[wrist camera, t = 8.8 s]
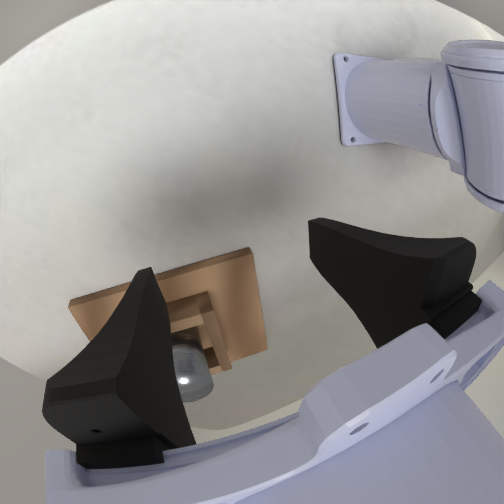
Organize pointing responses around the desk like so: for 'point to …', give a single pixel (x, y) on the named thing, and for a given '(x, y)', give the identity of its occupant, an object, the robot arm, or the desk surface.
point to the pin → (191, 365)
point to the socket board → (198, 307)
